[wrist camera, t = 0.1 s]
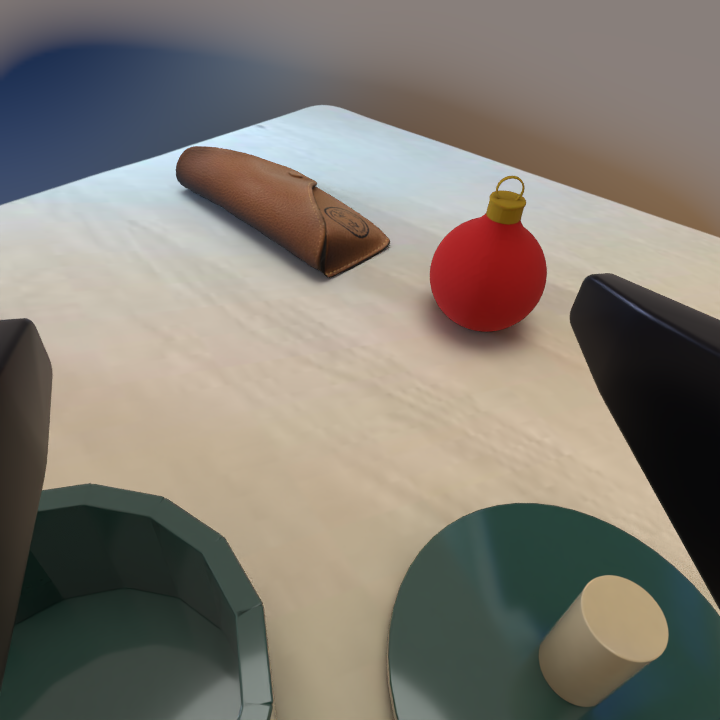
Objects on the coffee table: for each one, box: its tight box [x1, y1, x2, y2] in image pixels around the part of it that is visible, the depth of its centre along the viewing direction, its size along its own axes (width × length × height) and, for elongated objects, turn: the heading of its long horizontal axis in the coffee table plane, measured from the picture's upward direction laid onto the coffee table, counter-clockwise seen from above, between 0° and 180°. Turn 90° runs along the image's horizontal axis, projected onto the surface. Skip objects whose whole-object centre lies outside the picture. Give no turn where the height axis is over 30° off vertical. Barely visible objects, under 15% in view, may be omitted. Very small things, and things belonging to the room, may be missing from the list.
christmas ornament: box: [430, 176, 547, 332], centre depth 33 cm, size 7×7×10 cm
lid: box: [387, 503, 720, 720], centre depth 18 cm, size 14×14×6 cm
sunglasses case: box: [176, 146, 390, 278], centre depth 43 cm, size 18×7×7 cm
